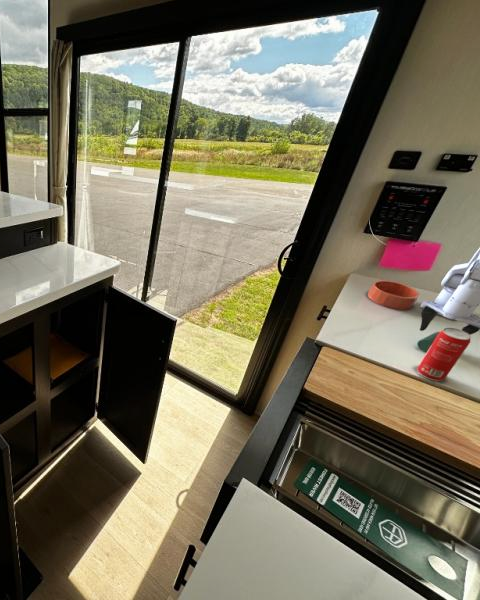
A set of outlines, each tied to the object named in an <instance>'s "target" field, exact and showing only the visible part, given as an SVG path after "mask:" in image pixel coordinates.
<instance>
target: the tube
mask: <svg viewBox="0 0 480 600" xmlns="http://www.w3.org/2000/svg"><path fill="white" fill-rule="evenodd" d="M439 332H440V331H436V332H434V333H432V334H430V335H428V336H426V337H424V338H422V339H420V340H418V341H417V347H418V349H419V350H420V351H423V352H425V353H427V351H428V350H429V348H430V347H431V345H432V343H433V342H434V340H435V339H436V337H437V335H438V334H439Z"/></svg>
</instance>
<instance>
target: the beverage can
mask: <svg viewBox="0 0 480 600" xmlns="http://www.w3.org/2000/svg"><path fill="white" fill-rule="evenodd" d="M438 332H439V334H438V335H437V337H436V339H435V340H434V342H433V343H432V345H431V347H430V348H429V350H428V351H427V352H425V355H424V357H423V358H422V360H421V361H420V363H419V364H418V366H417V368H416V370H417V372H418V374H419V375H421V376H422V377H424V378H426V379H428V380H432V381H438V382H439V381H440V382H441V381H444V380H445V379H446V378H447V377H448V375H449V373H450V372H452V369H453V368H454V366H455V365H456V363H457V362H458V361H459V359H460V358H461V356H462V355H463V353H464V352H465V351H466V349H467V348H468V346H469V345H470V343H471V338H472V336H471V335H469V334H468V333H466V332H464V331H462V329H458V328H455V327H454V328H453V327H445V328H444V329H442V330H440V331H438Z"/></svg>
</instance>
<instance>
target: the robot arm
mask: <svg viewBox="0 0 480 600" xmlns="http://www.w3.org/2000/svg"><path fill="white" fill-rule="evenodd" d="M440 285H441V287H442V289H441V291H440V292H439V294H438V295H437V297H436V298H435V300H434V301H431V300H428V299H426V300H423V302H422V303H421V304H420V306H419V307H420V308H423V309H422V310H421V311H420V315H421V323H420V327H419V331H421V332H423V331H425V330H426V329H427V328H428V327H429V325H430V324H431V322H432V321H433V319H434V318H435V317H436V316H437V315H439V316H441V317H444V318H446V319H448V320H452V321H453V320H455V321H457V322H460V323H463V324H466V325H465V326H463V327H462V328H461V330H462V331H464V332H466V333H468V334H469V335H470V336H471V335H474V334H477V332H479V331H480V318H479V317H475V316H474V315H472V314H473V313H474V312H475V311H476V309H477V308H478V307H479V306H480V246H479V248H478V249H477V250H476V252H475V253H474V254H473V256H472V257H471V259H470V260H469V262H465V263H461V264H460V263H459V264H454V266H452V267H451V268H450V270H449V271H448V272H447V273H446V274H445V276H444V278H443V279H442V281H441V283H440Z"/></svg>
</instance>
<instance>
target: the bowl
mask: <svg viewBox="0 0 480 600" xmlns="http://www.w3.org/2000/svg"><path fill="white" fill-rule="evenodd" d="M367 297H368V298H369V300H371V301H372V302H373V303H376V304H378V305H380V306H383V307H386V308H390V309H395V310H409V309H412V307H413V306H414V304H415V303H416V301H417V300H418V299H419V297H420V293H419V291H417V290H416V289H415V288H413V287H411V286H409V285H407V284H404V283H400V282H397V281H392V280H384V279H383V280H377V281H374V282H373V283H372V285H371V287H370V289H369V290H368V293H367Z"/></svg>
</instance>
